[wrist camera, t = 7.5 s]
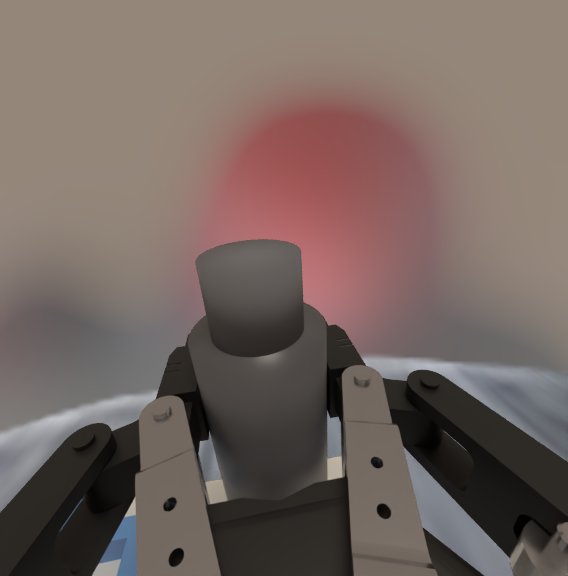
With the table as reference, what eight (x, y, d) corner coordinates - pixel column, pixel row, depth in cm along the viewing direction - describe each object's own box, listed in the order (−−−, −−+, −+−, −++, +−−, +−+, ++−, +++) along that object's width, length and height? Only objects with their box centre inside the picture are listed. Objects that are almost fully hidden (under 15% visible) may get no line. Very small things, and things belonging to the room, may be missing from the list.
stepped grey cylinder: (267, 442, 16) (238, 229, 11) (342, 481, 14) (348, 240, 9) (211, 521, 13) (134, 270, 8) (298, 589, 11) (269, 302, 6)
